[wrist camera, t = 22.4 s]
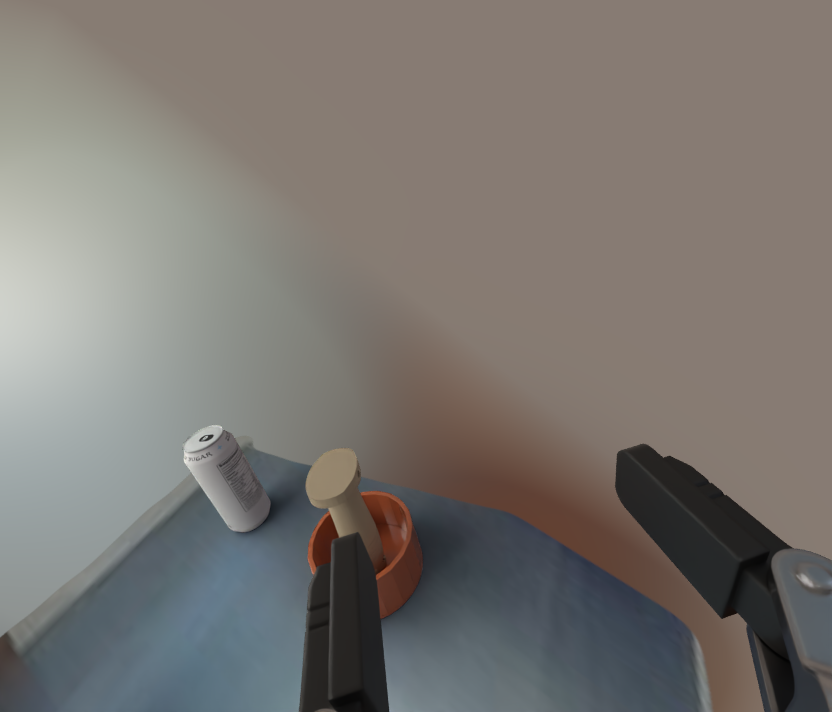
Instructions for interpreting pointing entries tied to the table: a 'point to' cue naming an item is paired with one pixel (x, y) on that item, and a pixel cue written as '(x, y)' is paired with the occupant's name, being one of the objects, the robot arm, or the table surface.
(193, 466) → the energy drink can
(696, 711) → the table surface
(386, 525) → the holder
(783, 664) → the robot arm
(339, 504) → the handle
